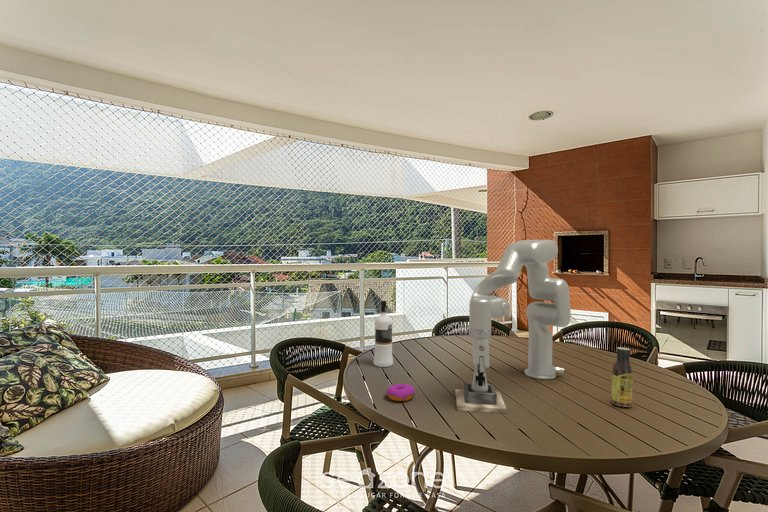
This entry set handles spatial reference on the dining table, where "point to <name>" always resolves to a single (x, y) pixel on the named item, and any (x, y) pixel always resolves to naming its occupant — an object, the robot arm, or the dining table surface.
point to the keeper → (479, 400)
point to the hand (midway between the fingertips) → (479, 385)
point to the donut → (400, 392)
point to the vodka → (383, 339)
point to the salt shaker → (476, 387)
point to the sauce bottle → (622, 379)
